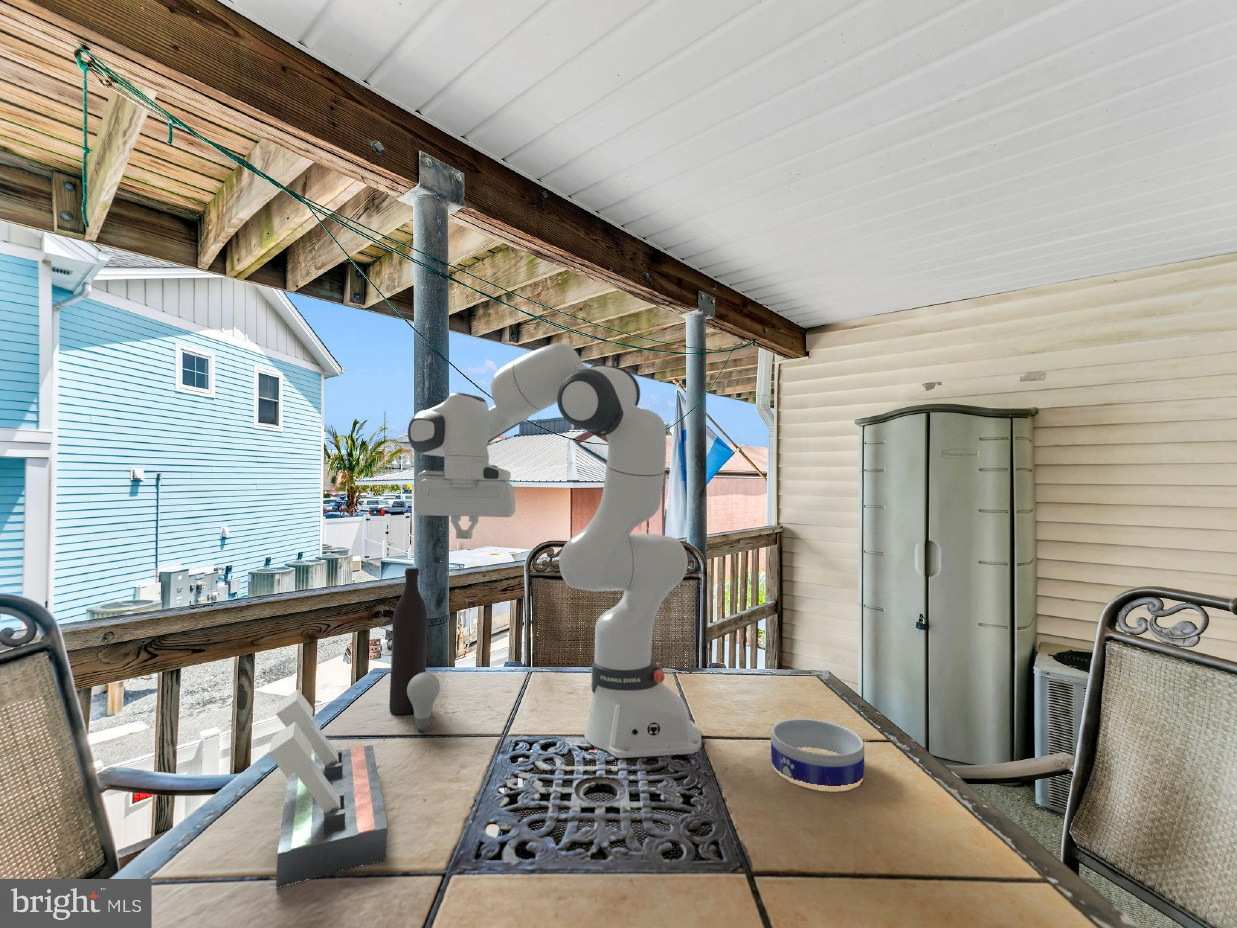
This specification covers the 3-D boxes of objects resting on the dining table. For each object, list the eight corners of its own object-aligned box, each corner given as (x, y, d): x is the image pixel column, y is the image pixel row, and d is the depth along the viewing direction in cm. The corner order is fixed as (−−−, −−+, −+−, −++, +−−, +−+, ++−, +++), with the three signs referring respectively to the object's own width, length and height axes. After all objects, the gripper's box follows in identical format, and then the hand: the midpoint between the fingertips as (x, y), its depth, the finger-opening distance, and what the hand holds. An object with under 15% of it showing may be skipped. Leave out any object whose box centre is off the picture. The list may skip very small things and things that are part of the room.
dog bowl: (754, 770, 98) (754, 734, 98) (794, 742, 109) (794, 710, 109) (843, 805, 87) (843, 765, 87) (877, 770, 98) (877, 735, 99)
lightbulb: (443, 724, 113) (445, 668, 114) (430, 737, 107) (432, 678, 108) (414, 722, 114) (416, 667, 115) (399, 735, 108) (401, 677, 109)
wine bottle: (415, 700, 126) (420, 565, 127) (430, 709, 121) (435, 568, 122) (383, 708, 121) (389, 567, 122) (397, 718, 116) (403, 571, 117)
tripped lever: (344, 750, 90) (298, 689, 88) (345, 764, 86) (296, 699, 83) (326, 764, 89) (278, 702, 86) (326, 779, 84) (275, 714, 82)
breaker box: (371, 769, 95) (373, 736, 95) (386, 860, 72) (387, 816, 72) (289, 784, 90) (290, 749, 90) (275, 888, 66) (278, 841, 67)
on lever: (347, 793, 78) (295, 721, 75) (348, 812, 73) (293, 736, 71) (326, 809, 76) (272, 737, 74) (326, 829, 72) (268, 753, 69)
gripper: (410, 469, 114) (407, 538, 113) (511, 471, 113) (509, 541, 113) (422, 470, 120) (419, 536, 119) (518, 472, 120) (516, 538, 119)
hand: (464, 538), depth 116 cm, fingers closed
